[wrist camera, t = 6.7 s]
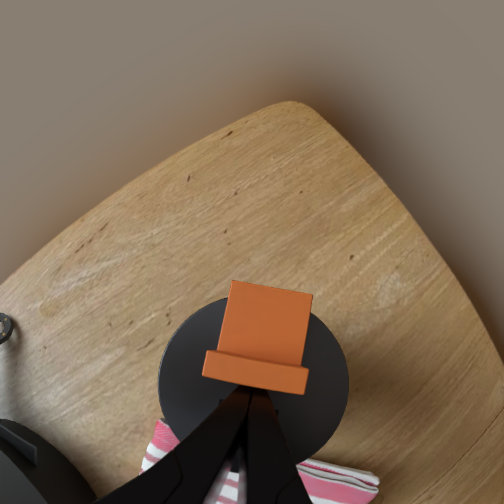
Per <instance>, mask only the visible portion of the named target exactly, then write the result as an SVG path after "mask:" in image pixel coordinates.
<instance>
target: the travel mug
mask: <svg viewBox="0 0 504 504" xmlns="http://www.w3.org/2000/svg"><path fill="white" fill-rule="evenodd" d="M227 300H228V297H227V298H224V299H220V300H218V301H215V302H213V303H210V304H208V305H207V306H205V307H203V308H201V309H199V310H198V311H197V312H195V313H194V314H193V315H191V316H190V317H189V318H188V319H187V320H186V321H185V322H184V323H183V324H182V325H181V326H180V327H179V328H178V329H177V331H176V332H175V333H174V334H173V336H172V338H171V339H170V341H169V343H168V344H167V346H166V349H165V351H164V353H163V356H162V359H161V363H160V367H159V374H158V394H159V401H160V405H161V409H162V412H163V415H164V417H165V419H166V422H167V424H168V426H169V427H170V429H171V431H172V432H173V434H174V435H175V436H176V438H177V439H178V440H179V441H180V442H181V441H182V440H183V439H184V438H185V437H186V436H187V435H188V434H189V433H190V432H191V431H193V430H194V429H195V428H196V427H197V426H198V425H199V424H200V423H201V422H202V421H203V420H204V419H205V418H206V417H207V416H208V415H209V414H210V413H211V412H212V411H213V410H214V409H215V408H216V407H217V406H218V405H219V404H220V403H221V402H222V401H223V400H224V399H225V398H226V397H227V396H228V395H229V394H230V393H231V392H232V391H233V390H234V389H235V388H236V387H237V386H238V385H239V384H235V383H231V382H226V381H222V380H217V379H213V378H209V377H204V376H202V371H203V366H204V361H205V357H206V352H207V350H217V347H218V343H219V338H220V333H221V328H222V324H223V319H224V314H225V310H226V305H227ZM301 366H302V367H305V368H307V369H309V375H308V380H307V385H306V389H305V394H304V395H299V394H292V393H285V392H279V391H273V390H268V393H269V396H270V399H271V401H272V404H273V407H274V409H275V412H276V415H277V417H278V420H279V423H280V425H281V428H282V431H283V433H284V436H285V439H286V441H287V444H288V446H289V449H290V451H291V454H292V457H293V459H294V462H295V464H296V465H297V464H299V463H301V462H303V461H305V460H307V459H308V458H309V457H311V456H312V455H314V454H315V453H316V452H317V451H318V450H320V449H321V448H322V447H323V446H324V445H325V444H326V443H327V441H328V440H329V439H330V438H331V436H332V435H333V434H334V432H335V430H336V429H337V427H338V426H339V424H340V421H341V419H342V417H343V415H344V412H345V408H346V405H347V400H348V393H349V376H348V369H347V364H346V361H345V357H344V354H343V352H342V350H341V348H340V345H339V343H338V342H337V340H336V338H335V337H334V335H333V334H332V332H331V331H330V330H329V329H328V328H327V326H326V325H325V324H324V323H323V322H322V321H321V320H320V319H319V318H317V317H316V316H315V315H314V314H312V313H311V312H310V318H309V324H308V330H307V335H306V341H305V346H304V352H303V357H302V363H301ZM244 428H245V427H244ZM242 437H243V436H242ZM241 442H242V440H241ZM240 452H241V444H240V446H239V449H238V452H237V454H236V457H235V459H234V462H233V464H232V466H231V469H230V471H229V472H233V473H238V474H239V467H240Z"/></svg>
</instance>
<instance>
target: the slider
mask: <svg viewBox="0 0 504 504" xmlns="http://www.w3.org/2000/svg"><path fill="white" fill-rule="evenodd" d="M312 299H313V295H312V294H307V293H301V292H295V291H290V290H284V289H278V288H273V287H267V286H262V285H256V284H251V283H246V282H240V281H235V280H232V282H231V287H230V291H229V296H228V300H227V305H226V310H225V314H224V319H223V324H222V328H221V333H220V338H219V343H218V347H217V350H207V352H206V357H205V361H204V366H203V371H202V376H204V377H209V378H213V379H217V380H222V381H226V382H231V383H235V384H240V385H245V386H250V387H256V388H261V389H267V390H273V391H279V392H285V393H292V394H299V395H304V394H305V389H306V385H307V380H308V375H309V369H307V368H305V367H302V366H301V363H302V357H303V352H304V346H305V341H306V335H307V330H308V324H309V318H310V312H311V305H312Z"/></svg>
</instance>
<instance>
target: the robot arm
mask: <svg viewBox="0 0 504 504" xmlns="http://www.w3.org/2000/svg"><path fill="white" fill-rule="evenodd" d="M244 427H245V428H244ZM242 436H243V437H242ZM241 440H242V442H241ZM240 444H241V452H240V467H239V481H238V495H237V504H313V503H312V501H311V499H310V497H309V495H308V492H307V490H306V488H305V486H304V483H303V481H302V479H301V476H300V475H298V474H299V472H298V469H297V467H296V464H295V462H294V459H293V457H292V454H291V451H290V449H289V446H288V444H287V441H286V439H285V436H284V433H283V431H282V428H281V425H280V423H279V420H278V417H277V415H276V412H275V409H274V407H273V404H272V401H271V399H270V396H269V393H268V390H267V389H261V388H256V387H250V386H245V385H240V384H239V385H238V386H237V387H236V388H235V389H234V390H233V391H232V392H231V393H230V394H229V395H228V396H227V397H226V398H225V399H224V400H223V401H222V402H221V403H220V404H219V405H218V406H217V407H216V408H215V409H214V410H213V411H212V412H211V413H210V414H209V415H208V416H207V417H206V418H205V419H204V420H203V421H202V422H201V423H200V424H199V425H198V426H197V427H196V428H195V429H194V430H193V431H191V432H190V433H189V434H188V435H187V436H186V437H185V438H184V439H183V440H182V441H181V442H180V443H179V444H178V445H176V446H175V447H174V448H173V450H170V451H169V452H168V453H167V454H166V455H165V456H164V457H163V458H161V459H160V460H159V461H158V462H156V463H155V464H154V465H153V466H151V467H150V468H149V469H147V470H146V471H144V472H143V473H141V474H140V475H138V476H137V477H135V478H134V479H132V480H130V481H129V482H127V483H126V484H124V485H122V486H120V487H119V488H117V489H115V490H114V491H112V492H110V493H108V494H107V495H105V496H103V497H101V498H99V499H97V500H96V501H94V502H92V503H90V504H216V502H217V500H218V497H219V495H220V493H221V490H222V488H223V486H224V483H225V481H226V479H227V476H228V474H229V471H230V469H231V466H232V464H233V462H234V459H235V457H236V454H237V452H238V449H239V446H240Z"/></svg>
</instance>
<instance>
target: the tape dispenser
mask: <svg viewBox="0 0 504 504" xmlns="http://www.w3.org/2000/svg"><path fill="white" fill-rule="evenodd" d="M96 500H97V498H96V496H95V494H94V493H93V491H92V490H91V488H90V487H89V485H88V484H87V482H86V481H85V480H84V478H83V477H82V476H81V475H80V474H79V472H78V471H77V470H76V469H75V468H74V467H73V466H72V465H71V464H70V462H69V461H68V460H67V459H66V458H65V457H64V456H63V455H62V454H60V453H59V452H58V451H57V450H56V449H55V448H54V447H53V446H52V445H50V444H49V443H48V442H47V441H45V440H44V439H43V438H41V437H40V436H39V435H37V434H36V433H34V432H33V431H31V430H30V429H28V428H27V427H24V426H22V425H20V424H18V423H16V422H13V421H10V420H7V419H0V504H90V503H92V502H94V501H96Z"/></svg>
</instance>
